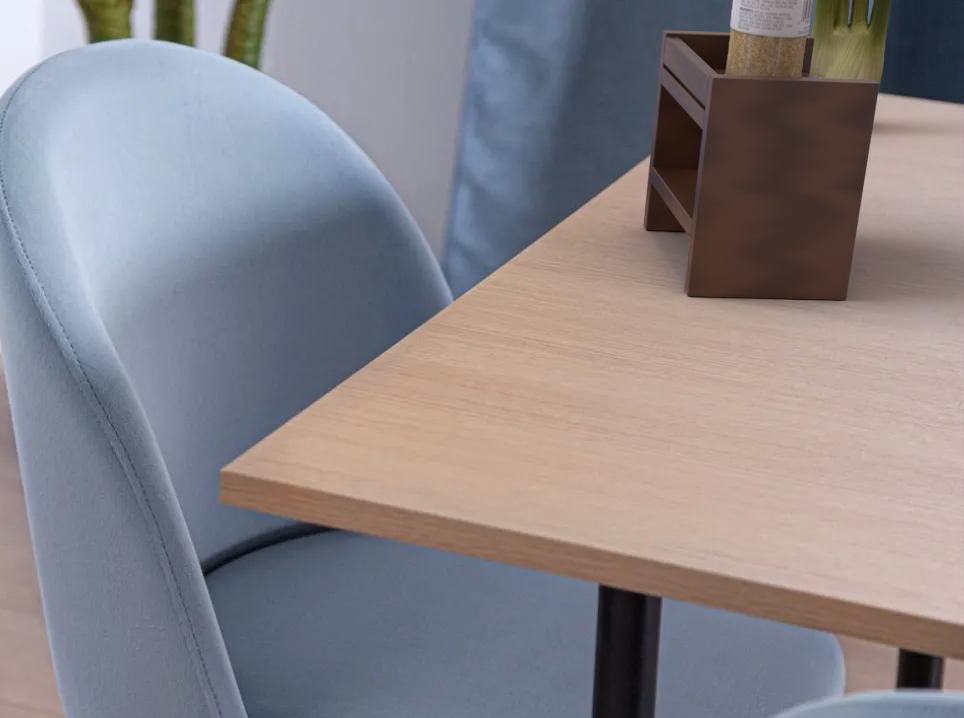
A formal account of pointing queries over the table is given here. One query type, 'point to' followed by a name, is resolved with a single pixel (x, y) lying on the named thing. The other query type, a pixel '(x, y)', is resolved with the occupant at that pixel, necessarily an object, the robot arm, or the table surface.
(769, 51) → the spice jar
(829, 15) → the fennel bulb
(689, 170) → the rack
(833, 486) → the table surface
